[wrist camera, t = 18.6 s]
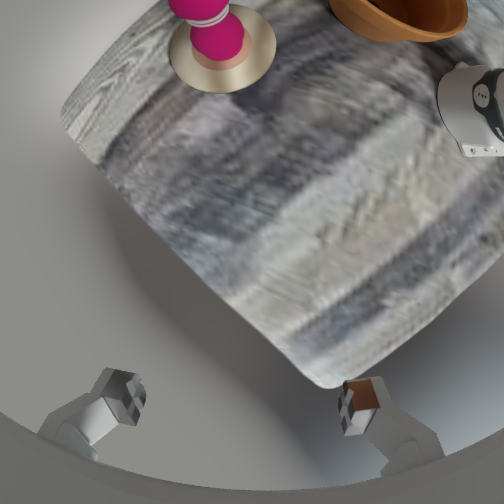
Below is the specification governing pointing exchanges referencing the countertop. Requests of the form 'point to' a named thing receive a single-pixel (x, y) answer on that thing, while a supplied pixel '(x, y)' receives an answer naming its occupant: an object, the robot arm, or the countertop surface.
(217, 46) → the pepper mill
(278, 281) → the countertop surface
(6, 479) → the robot arm
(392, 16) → the flower pot
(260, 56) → the disc
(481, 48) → the countertop surface
